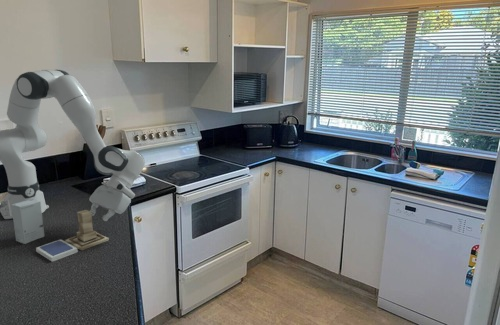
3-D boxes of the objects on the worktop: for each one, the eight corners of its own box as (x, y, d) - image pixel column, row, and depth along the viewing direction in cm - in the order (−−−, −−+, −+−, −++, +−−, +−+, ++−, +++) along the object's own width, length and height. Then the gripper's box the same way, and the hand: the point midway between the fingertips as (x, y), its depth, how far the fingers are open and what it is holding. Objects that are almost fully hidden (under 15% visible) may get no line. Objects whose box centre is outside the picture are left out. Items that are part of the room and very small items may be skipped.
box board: (65, 241, 142) (65, 238, 142) (92, 232, 150) (92, 229, 150) (81, 250, 135) (81, 247, 134) (109, 240, 143) (108, 237, 143)
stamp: (77, 239, 142) (74, 212, 139) (89, 235, 146) (87, 208, 143) (84, 242, 139) (81, 215, 136) (96, 238, 143) (94, 211, 140)
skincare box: (24, 244, 139) (18, 207, 136) (15, 241, 142) (9, 204, 139) (45, 236, 146) (41, 200, 143) (36, 233, 149) (31, 198, 146)
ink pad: (36, 251, 134) (35, 247, 133) (61, 242, 141) (60, 238, 140) (52, 261, 127) (51, 257, 126) (77, 252, 134) (77, 247, 133)
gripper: (97, 178, 153) (77, 207, 148) (127, 188, 141) (105, 219, 136) (108, 186, 158) (89, 215, 153) (137, 196, 146) (117, 227, 140)
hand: (97, 217), depth 144 cm, fingers open, 8 cm apart
